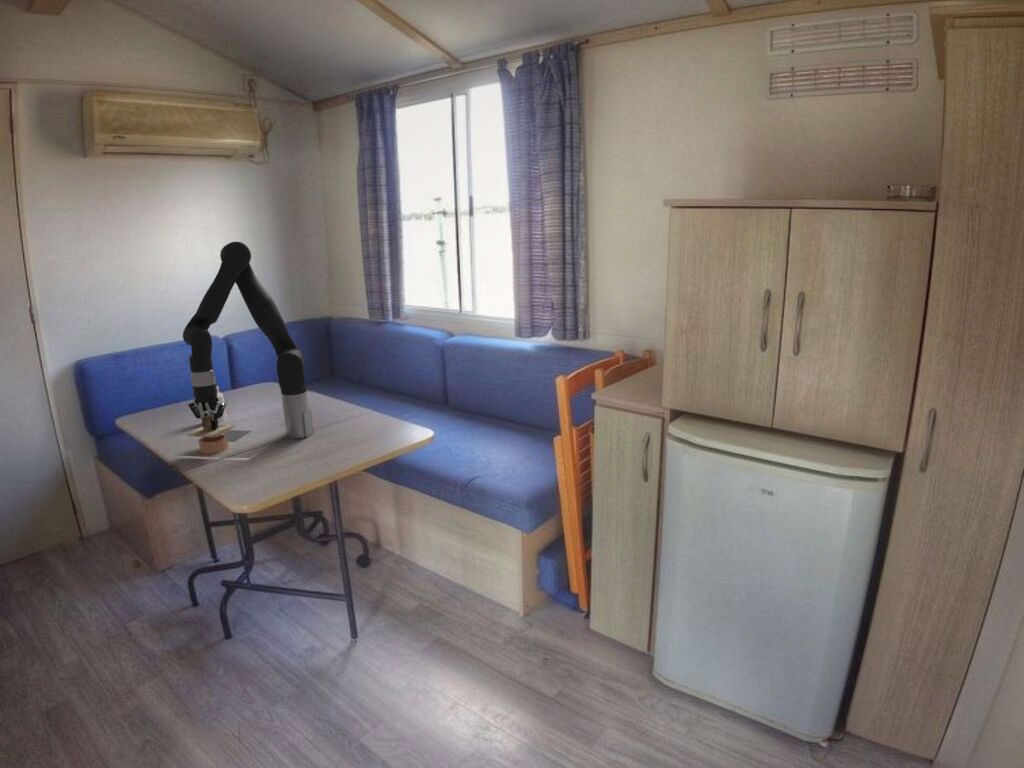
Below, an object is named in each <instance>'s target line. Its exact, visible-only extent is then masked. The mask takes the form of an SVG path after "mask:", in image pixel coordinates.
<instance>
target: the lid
mask: <svg viewBox="0 0 1024 768" xmlns="http://www.w3.org/2000/svg"><path fill="white" fill-rule="evenodd" d="M201 422H202V423H203V424H202V426H200V427H199V428H197V429H194V430H192V431H191V432H188V433H187V434H186V435H187V437H200V438H202V437H218V436H220V435H221V434H223V433H225V432H227V431H229V430H233V429H234V428H235V425H233V424H218V428H217V429H216V430H212V425H211V418H210V415H208V416H205V417H203V418H202V420H201Z"/></svg>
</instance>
